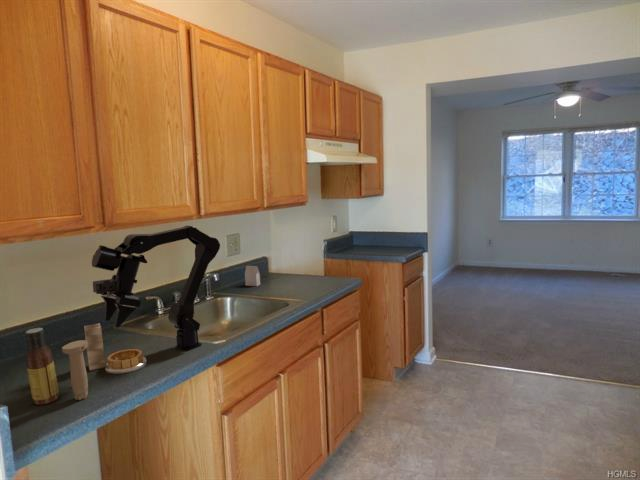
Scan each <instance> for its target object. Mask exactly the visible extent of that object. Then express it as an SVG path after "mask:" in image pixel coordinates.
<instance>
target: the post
mask: <svg viewBox="0 0 640 480" xmlns="http://www.w3.org/2000/svg"><path fill="white" fill-rule="evenodd" d="M83 327H84V336H85V337H84V338H85V339H84V340H85V341H87V342H88V346H87V348H86V353H87V361H88V370H89V371H95V370H98V369H105V365H106V359H105V357H106V356H105V349H104V342H103V331H102V326H101V323H94V324H89V325H84V326H83Z"/></svg>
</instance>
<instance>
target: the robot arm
mask: <svg viewBox="0 0 640 480" xmlns="http://www.w3.org/2000/svg"><path fill="white" fill-rule="evenodd" d="M183 240H188V241H190V243H192V244H193V245H195V248H194V262H193V264H192V266H191V270H190V272H189V275H188V277H187V281H186V283H185V284H184V287H183V291H182V293H181V295H180V298H179V299H178V300H177V301H176V302H174V301H172V302H171V304H170V308H169V310H168V311H167V314H168V317H167V319H168V321H169V323H170V324H172V325H173V326H174V328H175V329H178V330H176V336H175V338H176V345H175V346H174V347H175V348H176V349H180V350H184V351H190V350H192V349H194V348H197V347H200V346H201V345H202V342H200V341H199V336H198V335H199V334H198V331H199V330H200V327H201V323H200V322H199V321H197V320H195V318H194V317H195V316H194V315H195V300H196V299H197V296H198V293H199V291H200V287H201V285H202V282H203V279H204V277H205V274H206V272H207V269H208V267H209V264H210V263H211V262H212V261H213V260H214V259H215V258H216V256H217V254H218V253H219V251H220V248H221V244H220V241H219V239H217V238H216V237H213V236H212V237H211V236H209V235H208V234H207V233H205V232H202V231H201V230H200V229H198V228H197V227H195V226H193V225H183V226H181V227H177V228H174V229H173V228H172V229H168V230H163V231H159V232H154V233H133V234H132V233H131V234H128V235H126V236H125V238H124V239H123V241H122V242H121V243H120V244H119V245H117V246H116V247H115V248H111V247H108V246H105V245H102V244H99V246H98V248H97V249H96V250H95V253H94V254H93V256H92V259H91V266H92V267H93V268H97V269H100V270H105V271H109V272H110V271H111V272H114V271H115V269H117V270H116V273H115V274H113V275H112V276H111V278H110V279H101V280H100V279H99V280H94V281H92V291H93V293H95V294H97V295H101V296H100V297H101V299H102V300H103V301H104V306H105V307H104V313H105V314H104V316H105V317H104V320H105V321H106V322H107V321H108V322H110V320H111V319H112V317H113V316H114V314H115V312H116V318H115V327H116V328H120V326H122V325H123V323H124V322H125V321H126V320H127V319H128V318H129V316H131V315H132V314H133V312H134V311H135V310H137V308H140V306H141V303H142V301H141V299H140V297H138V296H136V295H135V294H134V292H133V288H134V285H135V284H137V283H138V279H136V278H137V275H138V271H139V267H140V264H142V263H143V264H147V263H148V260H147V259H146V258H145V255H144V254H143V253H146V252H149V251H151V250H152V249H154V248H155V247H158V246H162V245H165V244H169V243H174V242H178V241H183ZM135 254H136V255H135ZM124 255H127V256H124Z"/></svg>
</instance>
